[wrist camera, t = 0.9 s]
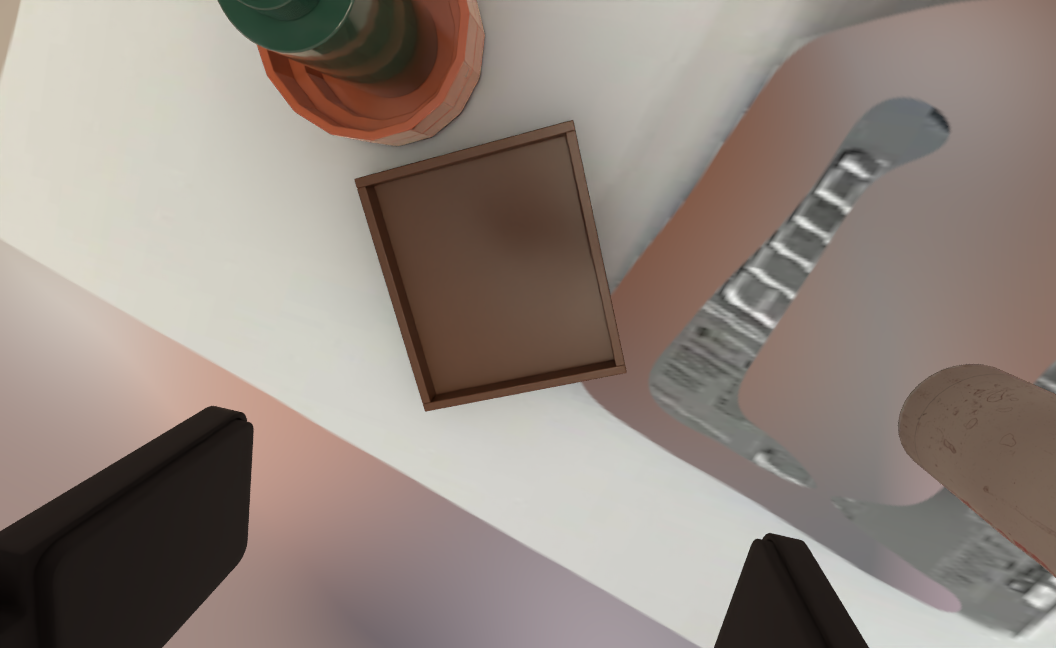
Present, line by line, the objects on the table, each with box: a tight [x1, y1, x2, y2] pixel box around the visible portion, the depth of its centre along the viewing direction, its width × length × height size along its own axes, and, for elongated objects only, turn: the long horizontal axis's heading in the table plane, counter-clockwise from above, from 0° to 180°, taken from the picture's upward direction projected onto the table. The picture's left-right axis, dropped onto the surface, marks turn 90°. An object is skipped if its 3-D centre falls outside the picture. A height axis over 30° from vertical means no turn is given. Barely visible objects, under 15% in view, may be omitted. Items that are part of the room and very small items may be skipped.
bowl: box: [257, 0, 485, 146], centre depth 31 cm, size 12×12×5 cm
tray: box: [354, 120, 626, 411], centre depth 36 cm, size 16×14×2 cm
